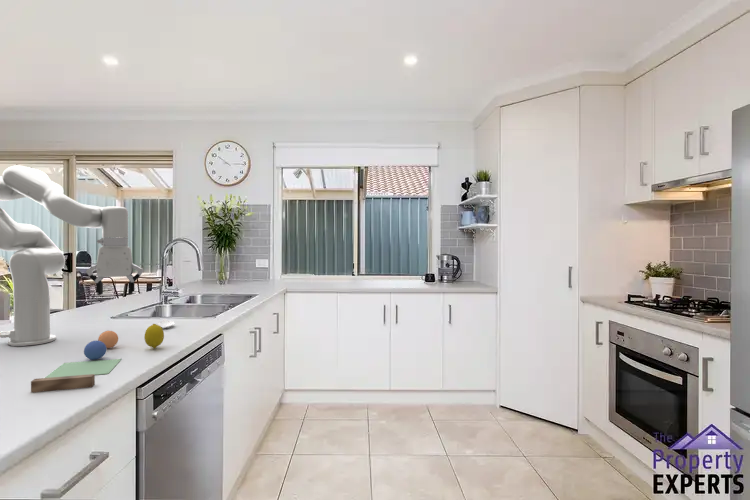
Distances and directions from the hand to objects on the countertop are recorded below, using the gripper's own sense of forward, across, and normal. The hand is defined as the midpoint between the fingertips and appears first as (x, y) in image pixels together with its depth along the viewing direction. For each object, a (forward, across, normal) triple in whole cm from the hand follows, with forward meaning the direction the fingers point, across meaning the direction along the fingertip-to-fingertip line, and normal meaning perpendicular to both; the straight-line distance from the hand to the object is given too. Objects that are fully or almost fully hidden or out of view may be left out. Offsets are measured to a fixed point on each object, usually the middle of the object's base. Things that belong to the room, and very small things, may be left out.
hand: (115, 293), depth 146 cm
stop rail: (+16, 0, -48) cm, 51 cm away
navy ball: (+13, 0, -23) cm, 27 cm away
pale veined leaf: (+17, +12, +21) cm, 29 cm away
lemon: (+16, +14, -14) cm, 26 cm away
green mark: (+16, 0, -32) cm, 36 cm away
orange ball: (+13, 0, -9) cm, 16 cm away
